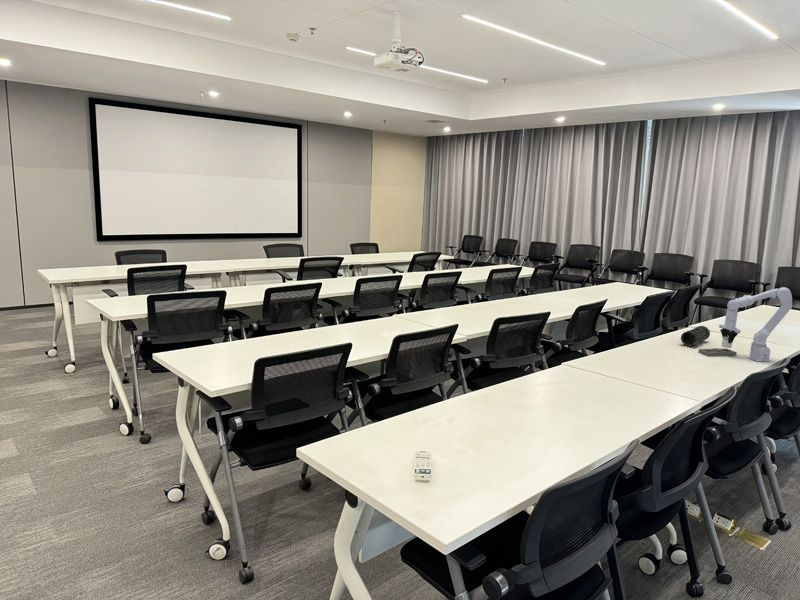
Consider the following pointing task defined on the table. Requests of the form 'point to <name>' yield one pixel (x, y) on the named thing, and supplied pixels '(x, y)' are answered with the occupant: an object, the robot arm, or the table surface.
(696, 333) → the muzzle brake
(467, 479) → the table surface
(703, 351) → the socket board
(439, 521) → the table surface
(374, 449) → the table surface
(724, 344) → the grey plug
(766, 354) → the robot arm
